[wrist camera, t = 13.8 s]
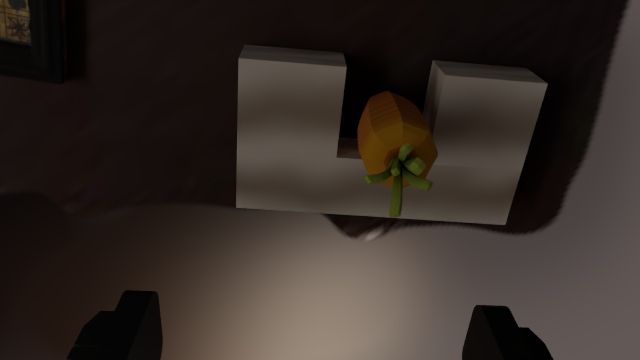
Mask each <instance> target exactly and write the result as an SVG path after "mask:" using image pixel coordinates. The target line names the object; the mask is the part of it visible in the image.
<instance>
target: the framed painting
mask: <svg viewBox="0 0 640 360" xmlns="http://www.w3.org/2000/svg"><path fill="white" fill-rule="evenodd" d="M0 75H4V76H8V77H16V78H23V79H29V80H35V81H41V82H48V83H54V84H63V83H64V82H65V81H66V79H67V75H68V66H67V35H66V0H0Z"/></svg>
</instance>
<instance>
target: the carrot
mask: <svg viewBox="0 0 640 360" xmlns="http://www.w3.org/2000/svg"><path fill="white" fill-rule="evenodd" d="M358 148H359V153H360V156H361V158H362V160H363V163H364V165H365V167H366V170H367V172H368V174H369V175H367V176H365V177H364V180H365V182H366V183H367V184H377V183H380V184H383V185H386V186H389V187H391V188H392V195H391V202H390V209H389V215H390V217H399V216H400V215H401V211H402V200H403V188H404V187H407V186H409V185H412V186H414V187H416V188H418V189H421V190H425V191H429V190H430V189H431V187H432V184H433V182H432V181H430V180H427V179H425V178H426V176H427V174H428V173H429V171H430V169H431V167H432V165H433V164H434V162H435V160H436V158H437V157H438V151H437V148H436V146H435V143H434V140H433V137H432V134H431V131H430V129H429V126H428V124H427V122H426V120H425V119H424V117H423V115H422V114H421V112H420V111H419V109H418V108H417V106H416V105H414V104H413V103H412V102H411V101H409V100H408V99H406V98H404V97H402V96H399V95H397V94H394V93H392V92H389V91H384V92H382V93H379V94H377V95H374V96H372V97H370V99H369V101H368V103H367V105H366V107H365V109H364V111H363V114H362V116H361V119H360V122H359V125H358Z"/></svg>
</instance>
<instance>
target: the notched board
mask: <svg viewBox="0 0 640 360" xmlns="http://www.w3.org/2000/svg"><path fill="white" fill-rule="evenodd" d="M346 69H347V66H346V62H345V58H344V54H343V53H339V52H327V51H315V50H303V49H291V48H279V47H267V46H255V45H244V48H243V50H242V52H241V54H240V56H239V69H238V130H237V192H236V208H252V209H268V210H283V211H298V212H314V213H329V214H345V215H360V216H376V217H390V215H389V209H390V202H391V195H392V188H391V187H389V186H386V185H383V184H380V183H377V184H367V183H366V182H365V180H364V177H365V176H367V175H369V174H368V172H367V170H366V167H365V165H364V163H363V160H362V158H361V156H360V153H359V148H358V139H355V138H342V137H339V130H340V121H341V112H342V104H343V95H344V86H345V77H346ZM547 85H548V83H546V82H545V81H544V80H542V79H541V78H539V77H538V76H537V75H535V74H534V73H533V72H531V71H530V70H529V69H527V68H518V67H506V66H494V65H482V64H470V63H458V62H446V61H434V60H433V62H432V67H431V73H430V78H429V83H428V88H427V93H426V99H425V104H424V109H423V114H422V115H423V117H424V119H425V120H426V122H427V124H428V126H429V129H430V131H431V134H432V137H433V140H434V143H435V146H436V148H437V151H438V157H437V158H436V160H435V162H434V164H433V165H432V167H431V169H430V171H429V173H428V174H427V176H426V178H425V179H427V180H430V181H432V182H433V184H432V187H431V189H430V190H429V191H425V190H421V189H418V188H416V187H414V186H412V185H409V186H407V187H404V188H403V200H402V211H401V215H400V216H399V217H391V218H407V219H422V220H438V221H453V222H468V223H484V224H499V225H505V224H506V220H507V217H508V214H509V210H510V207H511V204H512V201H513V197H514V194H515V191H516V187H517V184H518V181H519V177H520V174H521V171H522V167H523V164H524V161H525V158H526V154H527V151H528V148H529V144H530V141H531V138H532V134H533V131H534V128H535V125H536V121H537V118H538V115H539V111H540V108H541V105H542V101H543V98H544V95H545V91H546V88H547Z"/></svg>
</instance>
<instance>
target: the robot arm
mask: <svg viewBox="0 0 640 360" xmlns="http://www.w3.org/2000/svg"><path fill="white" fill-rule="evenodd" d="M162 343H163V337H162V327H161V317H160V307H159V298H158V293H157V292H155V291H131V290H130V291H129V290H126V291H125V292H124V293H123V294H122V296H121V298H120V300H119V303H118V305H117V307H116V309H115V311H100V312H99V313H98V314H97V315H95V316H94V317H93V318H92V319H91V320H90V321H89V322H88V323H86V324H85V325H84V327H83V328H82V330H81V332H80V334H79V336H78V338H77V340H76V341H75V344H74V347H73V348H72V349H71V351H70V353H69V355H68V357H67V360H160V358H161V352H162ZM462 360H553V358H552V356H551V354H550V352H549V351H548V349H547V347H546V345H545V343H544V342H543V341H542V340H541V339H540V338H539V337H538V336H536V335H535V334H534V333H533V332H532V331H531V330H530V329H529V328H521V327H520V328H519V327H518V325H517V323H516V321H515V319H514V317H513V315H512V313H511V311H510V309H509V308H508V307H506V306H491V305H476V306H475V308H474V310H473V313H472V317H471V321H470V324H469V328H468V331H467V335H466V339H465V342H464V346H463V351H462Z"/></svg>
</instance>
